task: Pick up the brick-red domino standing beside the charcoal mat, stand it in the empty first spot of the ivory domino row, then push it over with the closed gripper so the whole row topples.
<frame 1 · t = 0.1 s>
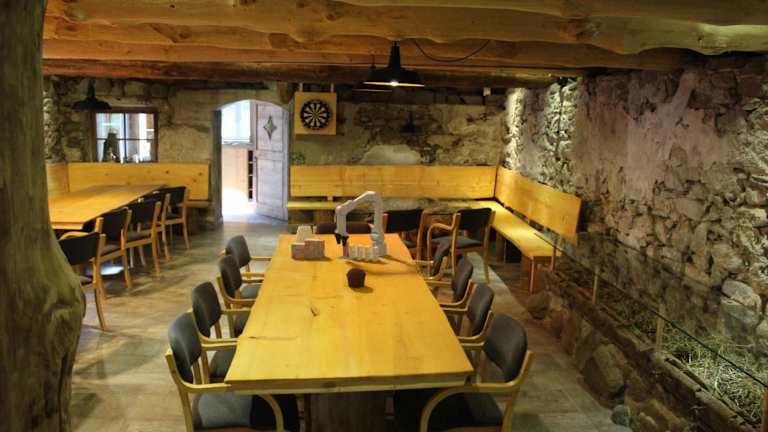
hand: (341, 245, 396), 10 cm above the table, tool pointing down, fingers open, 7 cm apart
domino mat: (358, 259, 399), on the table
muffin: (356, 286, 339), on the table
cup: (304, 245, 441), on the table
ivory domino 2: (352, 258, 401), point 1 cm above the table, touching domino mat
red domino: (345, 255, 411), on the table
ivory domino 4: (367, 259, 397), point 1 cm above the table, touching domino mat
ivory domino 5: (375, 260, 394), point 1 cm above the table, touching domino mat
ivory domino 3: (360, 259, 399), point 1 cm above the table, touching domino mat
stack of blocks: (308, 257, 406), on the table
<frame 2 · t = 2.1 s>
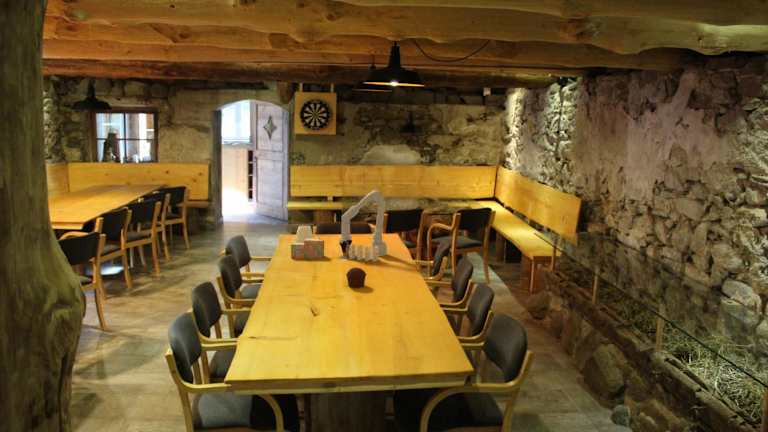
hand: (345, 251, 410), 3 cm above the table, tool pointing down, fingers closed on red domino, 5 cm apart
red domino: (345, 255, 411), on the table, touching gripper
everything else where it was.
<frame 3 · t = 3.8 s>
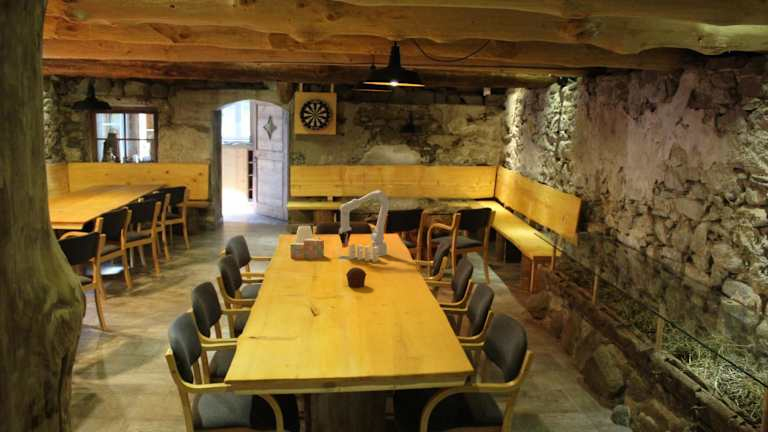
hand: (345, 242, 404), 10 cm above the table, tool pointing down, fingers closed on red domino, 5 cm apart
red domino: (345, 246, 405), point 7 cm above the table, touching gripper
everything else where it was.
when the fingers open (4 cm above the table, at t = 5.9 s): red domino stays where it is, resting on domino mat.
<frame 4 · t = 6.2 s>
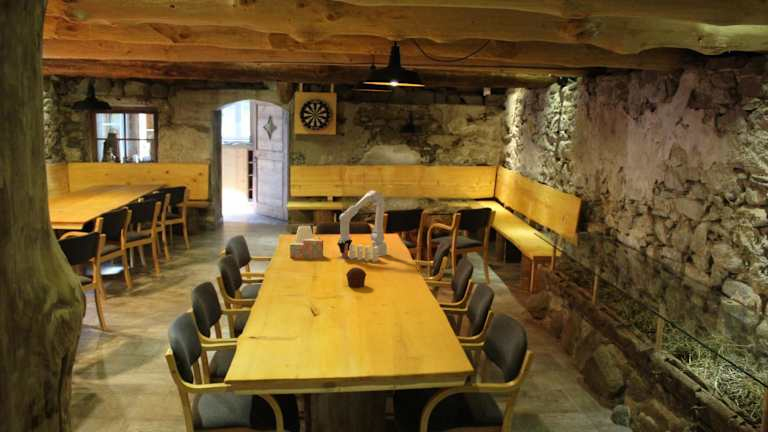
hand: (344, 251, 402), 4 cm above the table, tool pointing down, fingers open, 7 cm apart
red domino: (344, 257, 403), point 1 cm above the table, touching domino mat
everything else where it was.
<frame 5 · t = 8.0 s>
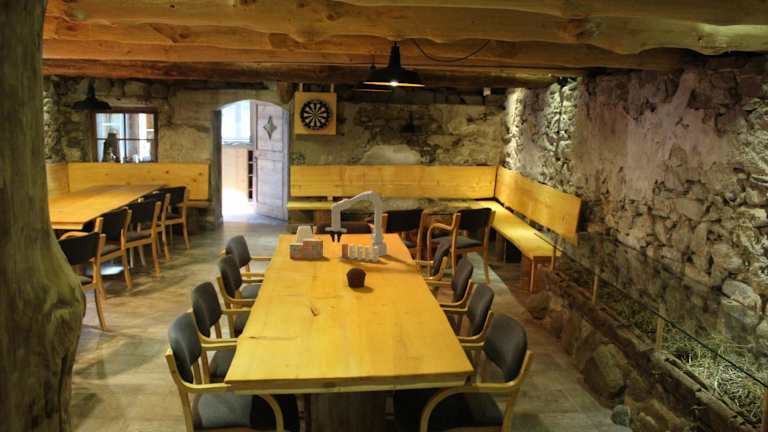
hand: (336, 242, 404), 10 cm above the table, tool pointing down, fingers open, 3 cm apart
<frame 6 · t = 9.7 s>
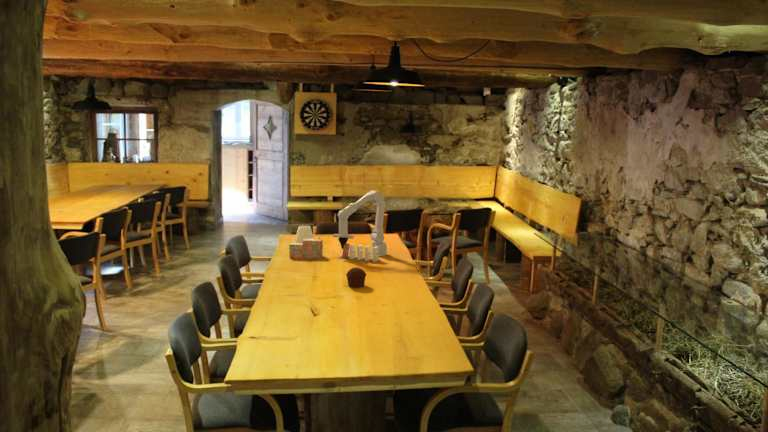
hand: (343, 248, 402), 6 cm above the table, tool pointing down, fingers closed
red domino: (344, 257, 403), point 1 cm above the table, tilted 10°, touching domino mat
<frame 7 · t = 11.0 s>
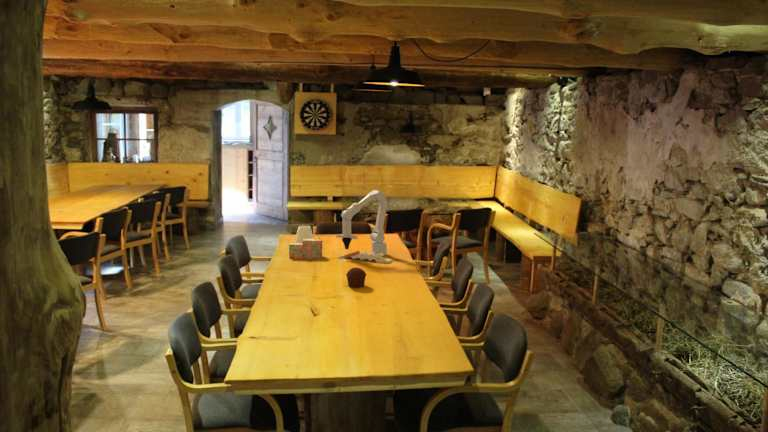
hand: (346, 249, 401), 6 cm above the table, tool pointing down, fingers closed
ivory domino 2: (353, 257, 400), point 2 cm above the table, tilted 69°, touching domino mat, ivory domino 3, red domino
red domino: (346, 256, 402), point 2 cm above the table, tilted 69°, touching domino mat, ivory domino 2
ivory domino 4: (370, 258, 396), point 2 cm above the table, tilted 66°, touching domino mat, ivory domino 3, ivory domino 5
ivory domino 5: (377, 259, 394), point 2 cm above the table, tilted 94°, touching domino mat, ivory domino 4
ivory domino 3: (361, 257, 398), point 2 cm above the table, tilted 69°, touching domino mat, ivory domino 2, ivory domino 4
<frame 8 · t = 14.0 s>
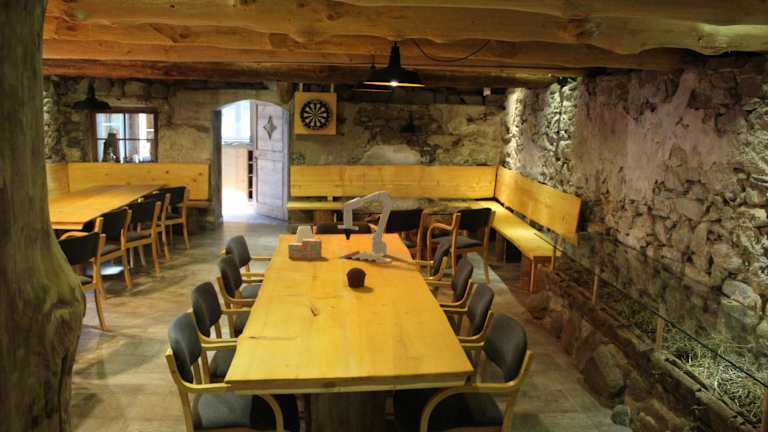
hand: (348, 239, 412), 10 cm above the table, tool pointing down, fingers closed
at the end: ivory domino 5 tilted 94°; red domino tilted 69° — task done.
